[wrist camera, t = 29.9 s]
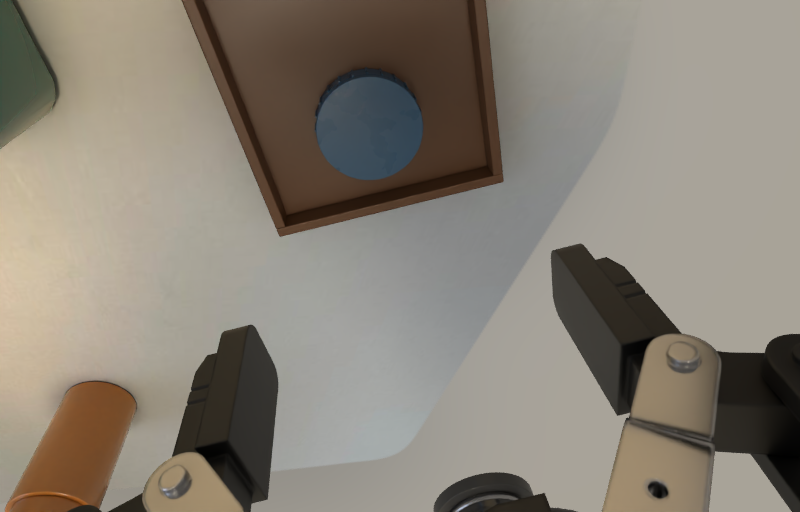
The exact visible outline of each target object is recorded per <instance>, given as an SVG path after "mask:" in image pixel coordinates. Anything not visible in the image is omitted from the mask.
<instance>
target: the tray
mask: <svg viewBox="0 0 800 512" xmlns="http://www.w3.org/2000/svg"><path fill="white" fill-rule="evenodd" d="M182 2H183V5H184V7H185V10H186V12H187V15H188V17H189V19H190V22H191V24H192V27H193V29H194V31H195V34H196V36H197V39H198V41H199V43H200V46H201V48H202V51H203V53H204V56H205V58H206V60H207V63H208V65H209V68H210V70H211V72H212V75H213V77H214V80H215V82H216V84H217V87H218V89H219V92H220V94H221V97H222V99H223V101H224V104H225V106H226V109H227V111H228V113H229V116H230V118H231V121H232V123H233V126H234V128H235V130H236V133H237V135H238V138H239V140H240V142H241V145H242V147H243V150H244V152H245V154H246V157H247V159H248V162H249V164H250V167H251V169H252V171H253V174H254V176H255V179H256V181H257V183H258V186H259V188H260V191H261V193H262V195H263V198H264V200H265V203H266V205H267V208H268V210H269V212H270V215H271V217H272V220H273V222H274V224H275V227H276V228H277V232H278V234H279V236H280V237H281V236H285V235H289V234H293V233H297V232H301V231H305V230H310V229H314V228H318V227H322V226H326V225H330V224H334V223H338V222H342V221H346V220H350V219H354V218H358V217H362V216H366V215H371V214H375V213H379V212H383V211H387V210H391V209H395V208H399V207H403V206H407V205H411V204H415V203H419V202H423V201H428V200H432V199H436V198H440V197H444V196H448V195H452V194H456V193H460V192H464V191H468V190H472V189H476V188H480V187H484V186H489V185H493V184H497V183H501V182H503V174H502V173H503V171H502V161H501V151H500V141H499V131H498V120H497V110H496V100H495V90H494V80H493V70H492V60H491V50H490V40H489V30H488V20H487V10H486V0H182ZM365 67H367V69H377V70H379V68H380V69H382V71H385V72H388V73H390V74H395V76H396V77H397V78H399V79H400V80H401V81H402V82H403V83H404V82H405V83H406V84H407V87H408V88H409V90H410V91H411V93H414V95H415V97H416V99H417V100H416V102H417V104H418V105H419V107H420V109H421V111H422V113H421V115H422V120H423V136H422V140H421V144H420V146H419V149H418V151H417V153H416V154H415V156H414V157H413V159H412V160H411V161H410V162H409V163H408V164H407V165H406V166H405V167H404V168H403V169H401V170H400V171H399V172H397V173H395V174H393V175H391V176H389V177H386V178H382V179H377V180H361V179H356V178H352V177H349V176H347V175H345V174H343V173H341V172H339V171H338V170H337V169H335V168H334V167H333V166H332V165H331V164H330V163H329V162H328V161H327V160H326V158H325V157H324V155H323V154H322V152H321V150H320V147H319V145H318V141H317V136H316V132H315V123H316V118H315V111H316V110H317V109H318V104H319V98H320V97H322V95H323V94H324V92H325V90H326V89H327V85H330V84H331V83H333V82H334V81H335V80H336V79H337V78H338V76H342V75H344V74H346V73H348V72H351V70H353V71H354V70H358V69H365Z"/></svg>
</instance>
